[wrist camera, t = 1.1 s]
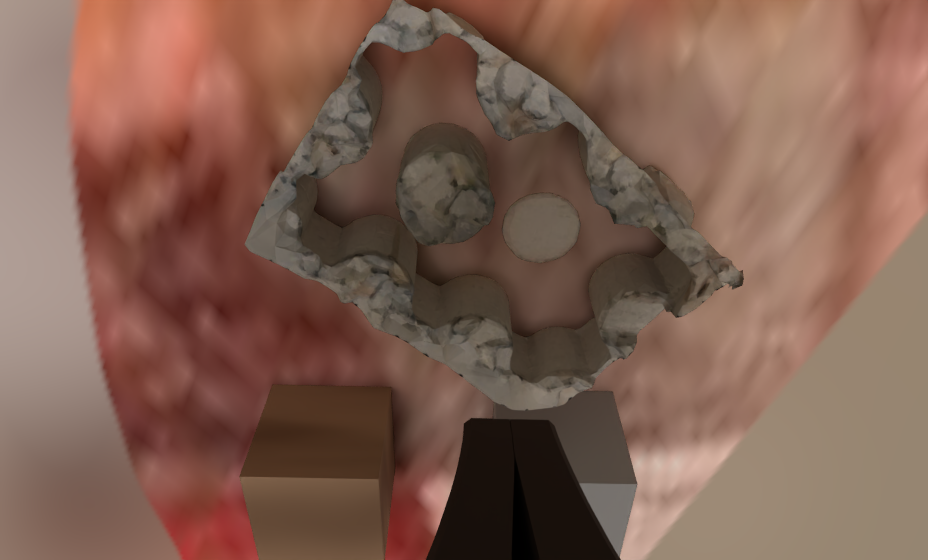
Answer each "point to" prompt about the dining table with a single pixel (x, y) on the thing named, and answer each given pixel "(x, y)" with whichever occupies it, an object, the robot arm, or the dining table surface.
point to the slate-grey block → (593, 454)
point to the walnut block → (321, 473)
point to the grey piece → (467, 211)
